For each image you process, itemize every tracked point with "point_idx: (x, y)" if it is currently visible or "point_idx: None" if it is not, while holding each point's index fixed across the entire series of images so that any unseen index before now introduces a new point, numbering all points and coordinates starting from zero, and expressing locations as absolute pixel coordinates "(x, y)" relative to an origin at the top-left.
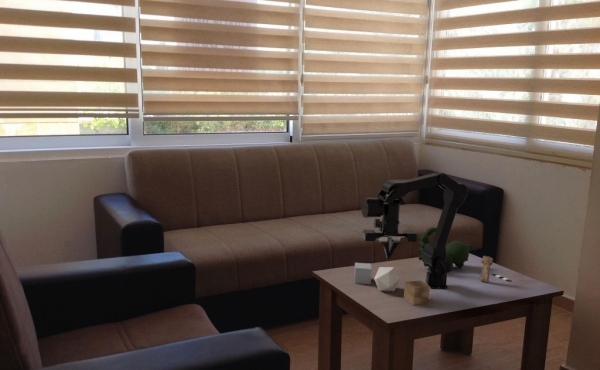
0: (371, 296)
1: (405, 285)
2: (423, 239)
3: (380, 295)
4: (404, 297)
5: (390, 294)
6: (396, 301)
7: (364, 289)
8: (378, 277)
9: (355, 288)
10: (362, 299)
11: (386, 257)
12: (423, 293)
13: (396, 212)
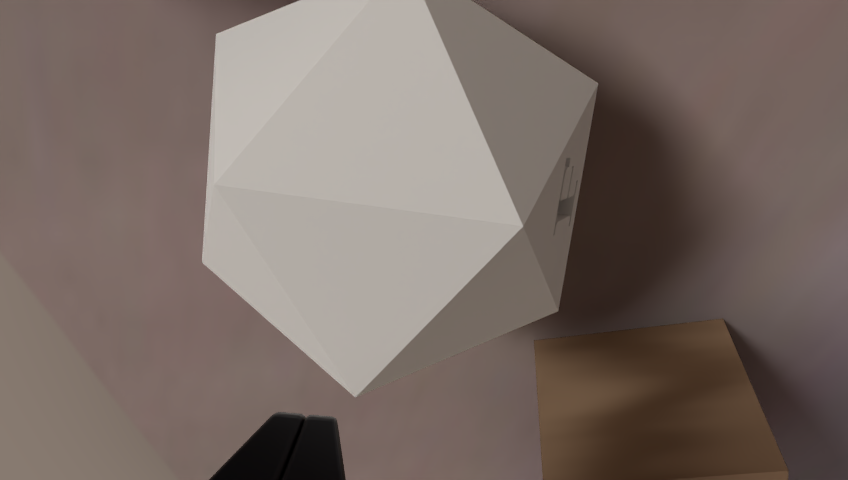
0: (203, 275)
1: (543, 464)
2: None
3: None
4: (536, 355)
5: None
6: (430, 392)
7: (130, 83)
8: (223, 278)
9: (14, 43)
10: (111, 327)
11: (263, 439)
12: None
13: None
